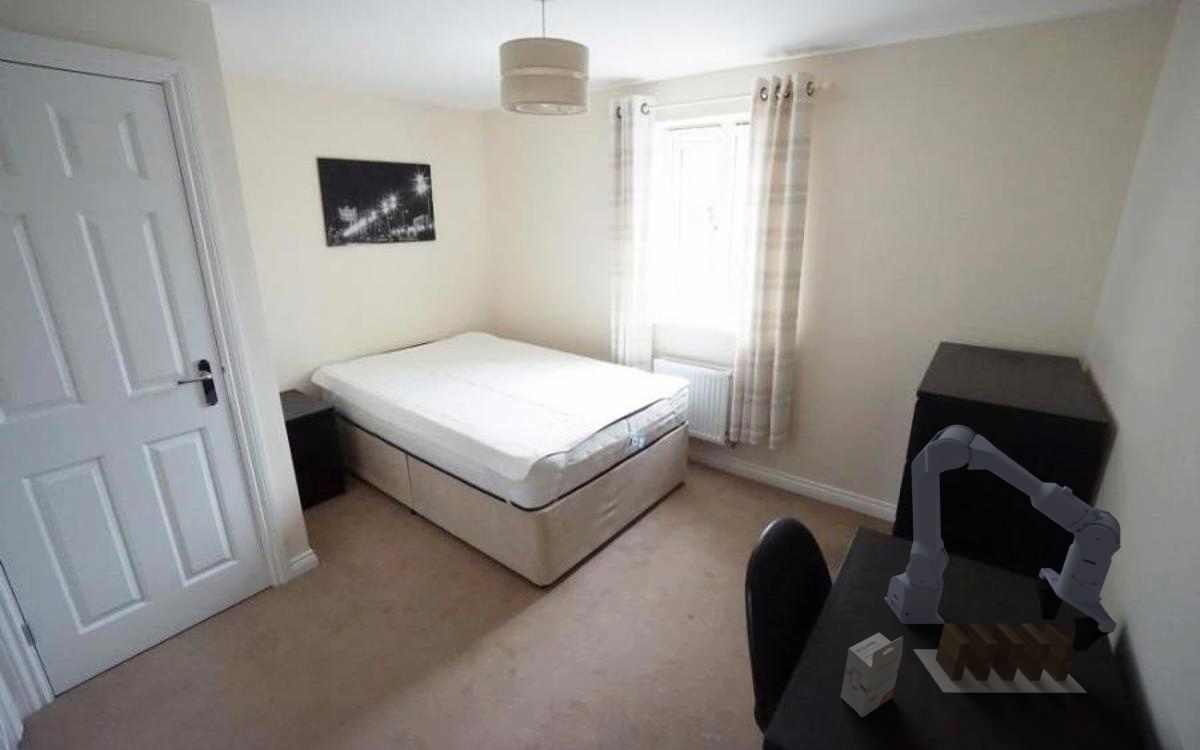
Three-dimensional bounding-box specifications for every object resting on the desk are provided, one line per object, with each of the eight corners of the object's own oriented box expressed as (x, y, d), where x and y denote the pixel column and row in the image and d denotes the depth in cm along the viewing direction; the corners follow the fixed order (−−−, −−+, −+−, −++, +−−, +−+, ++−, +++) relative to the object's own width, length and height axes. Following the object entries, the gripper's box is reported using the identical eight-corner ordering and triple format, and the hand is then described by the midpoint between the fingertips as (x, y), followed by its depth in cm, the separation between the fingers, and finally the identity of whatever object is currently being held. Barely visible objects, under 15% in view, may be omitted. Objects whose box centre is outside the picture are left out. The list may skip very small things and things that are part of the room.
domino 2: (976, 680, 102) (987, 643, 99) (960, 659, 107) (970, 623, 104) (987, 680, 102) (998, 643, 99) (970, 659, 107) (980, 623, 104)
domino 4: (1029, 680, 102) (1041, 643, 99) (1009, 659, 107) (1021, 623, 104) (1039, 680, 102) (1052, 643, 99) (1019, 659, 107) (1031, 623, 104)
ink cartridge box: (868, 679, 103) (881, 617, 98) (892, 699, 98) (907, 636, 94) (838, 697, 99) (850, 634, 94) (861, 719, 95) (875, 654, 90)
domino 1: (950, 680, 102) (961, 643, 99) (935, 659, 107) (944, 623, 104) (961, 680, 102) (971, 643, 99) (945, 659, 107) (954, 623, 104)
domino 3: (1002, 680, 102) (1014, 643, 99) (985, 659, 107) (995, 623, 104) (1013, 680, 102) (1025, 643, 99) (994, 659, 107) (1005, 623, 104)
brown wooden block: (1055, 681, 102) (1068, 643, 99) (1035, 659, 107) (1046, 623, 104) (1065, 681, 102) (1078, 644, 99) (1045, 659, 107) (1057, 623, 104)
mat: (942, 693, 100) (943, 692, 99) (912, 650, 109) (913, 649, 109) (1086, 694, 100) (1087, 692, 99) (1044, 651, 109) (1044, 649, 109)
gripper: (1143, 603, 90) (1118, 665, 94) (1072, 549, 104) (1054, 606, 108) (1101, 602, 90) (1078, 664, 95) (1036, 549, 104) (1018, 605, 108)
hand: (1062, 633), depth 101 cm, fingers open, 7 cm apart
